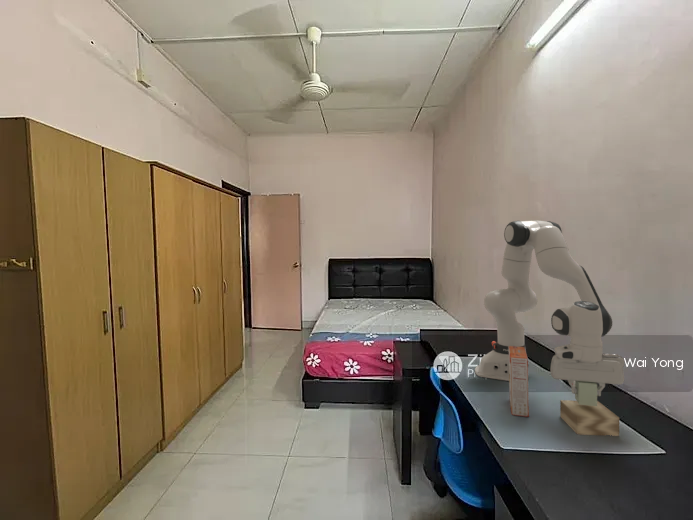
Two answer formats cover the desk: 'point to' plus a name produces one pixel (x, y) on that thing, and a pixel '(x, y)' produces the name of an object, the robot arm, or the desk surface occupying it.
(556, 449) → the desk surface
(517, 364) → the cracker box
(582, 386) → the sage block
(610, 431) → the ash plinth
